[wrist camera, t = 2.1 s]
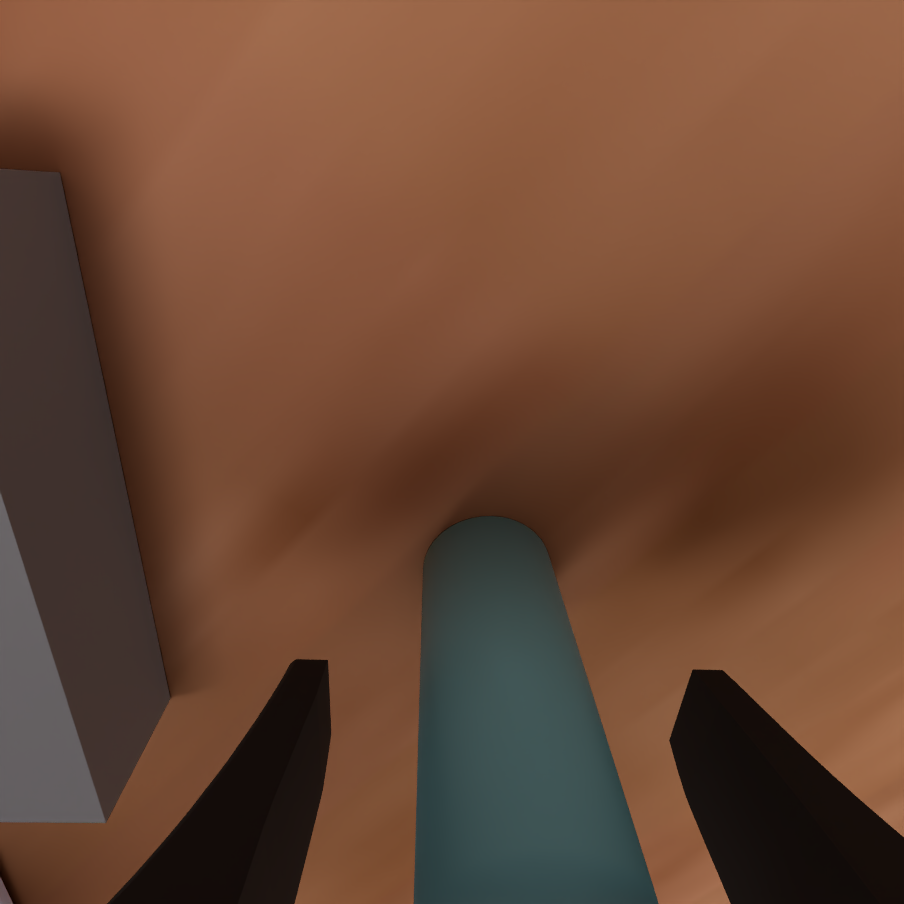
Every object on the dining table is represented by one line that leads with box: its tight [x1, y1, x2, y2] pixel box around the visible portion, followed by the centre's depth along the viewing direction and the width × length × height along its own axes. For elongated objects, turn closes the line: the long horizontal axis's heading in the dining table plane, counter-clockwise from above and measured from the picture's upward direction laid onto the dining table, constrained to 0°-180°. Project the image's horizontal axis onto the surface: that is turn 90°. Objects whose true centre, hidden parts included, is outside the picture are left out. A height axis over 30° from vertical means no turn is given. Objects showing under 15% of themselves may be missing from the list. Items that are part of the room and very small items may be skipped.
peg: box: [414, 516, 658, 904], centre depth 11 cm, size 3×3×8 cm
